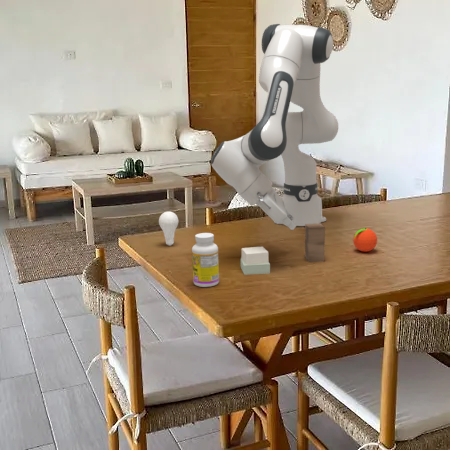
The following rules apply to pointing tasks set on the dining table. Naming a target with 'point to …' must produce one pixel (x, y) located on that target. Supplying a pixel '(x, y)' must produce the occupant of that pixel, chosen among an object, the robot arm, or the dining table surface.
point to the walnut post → (314, 242)
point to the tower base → (255, 268)
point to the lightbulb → (168, 226)
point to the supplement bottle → (205, 261)
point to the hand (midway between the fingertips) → (293, 223)
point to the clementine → (365, 240)
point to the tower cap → (254, 255)
